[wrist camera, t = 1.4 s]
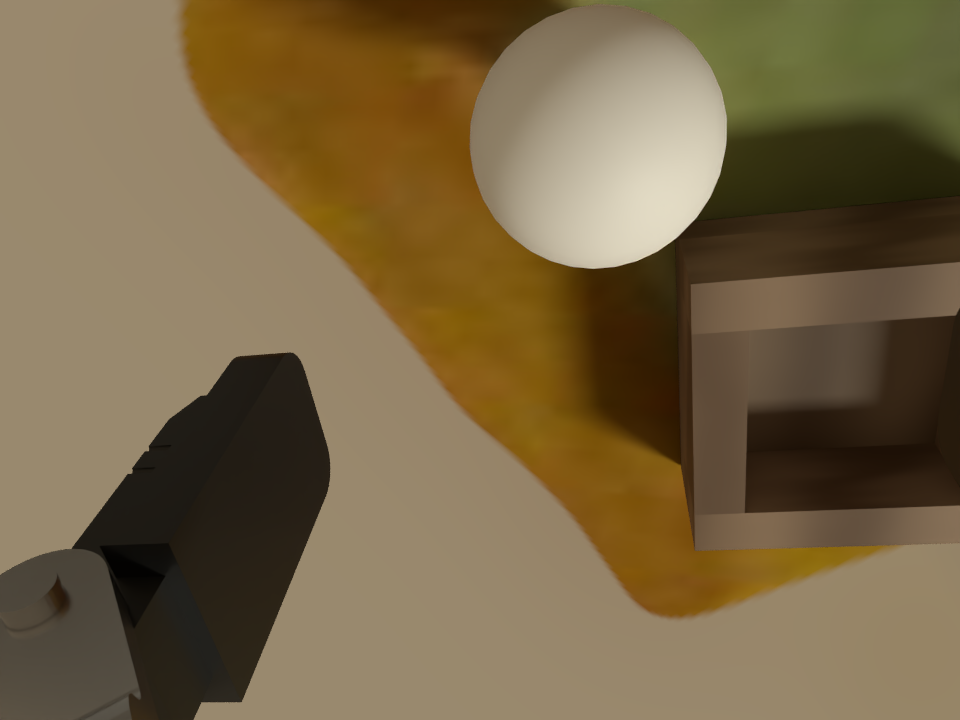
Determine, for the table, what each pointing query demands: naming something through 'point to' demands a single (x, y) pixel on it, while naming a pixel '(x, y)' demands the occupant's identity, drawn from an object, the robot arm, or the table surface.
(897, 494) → the socket block
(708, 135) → the lightbulb
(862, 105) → the table surface
